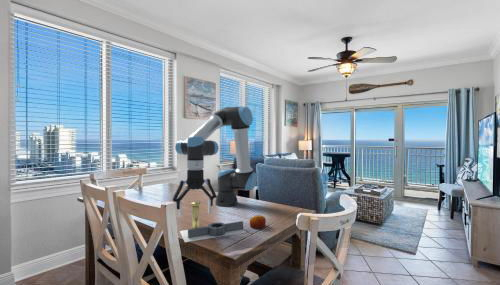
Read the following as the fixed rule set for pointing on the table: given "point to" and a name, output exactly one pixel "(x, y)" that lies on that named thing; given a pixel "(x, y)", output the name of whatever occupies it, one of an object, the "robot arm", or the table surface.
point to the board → (186, 239)
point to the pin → (195, 214)
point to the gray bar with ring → (215, 229)
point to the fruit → (257, 222)
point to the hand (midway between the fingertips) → (195, 214)
